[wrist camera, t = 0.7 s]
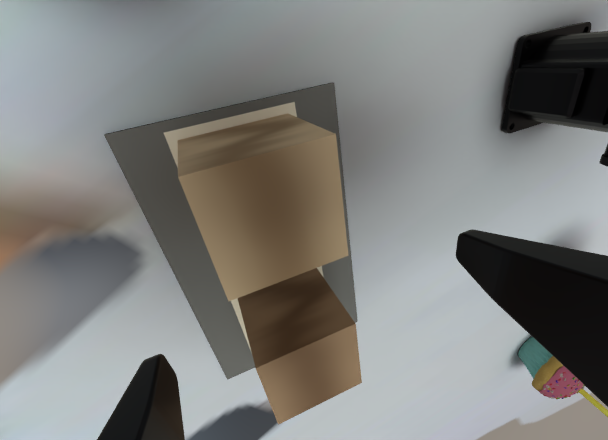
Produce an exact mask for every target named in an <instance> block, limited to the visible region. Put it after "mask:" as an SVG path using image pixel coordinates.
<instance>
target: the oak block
mask: <svg viewBox="0 0 608 440" xmlns="http://www.w3.org/2000/svg"><path fill="white" fill-rule="evenodd" d="M178 178H179V181H180V183H181V185H182V188H183V190H184V193H185V195H186V198H187V200H188V203H189V205H190V208H191V210H192V213H193V215H194V217H195V220H196V222H197V225H198V227H199V230H200V232H201V235H202V237H203V240H204V242H205V245H206V247H207V249H208V252H209V254H210V257H211V259H212V262H213V264H214V267H215V269H216V272H217V274H218V277H219V279H220V282H221V284H222V286H223V289H224V291H225V294H226V296H227V299H228V301H231V300H234V299H237V298H239V297H242V296H244V295H247V294H250V293H252V292H255V291H257V290H260V289H263V288H265V287H268V286H270V285H273V284H276V283H278V282H281V281H283V280H286V279H289V278H291V277H294V276H296V275H299V274H302V273H304V272H307V271H310V270H312V269H315V268H317V267H320V266H323V265H325V264H328V263H330V262H333V261H336V260H338V259H341V258H343V257H346V256H349V255H348V246H347V236H346V226H345V217H344V207H343V197H342V188H341V178H340V168H339V159H338V149H337V139H336V134H335V133H332V132H330V131H328V130H325V129H323V128H321V127H318V126H316V125H314V124H311V123H309V122H307V121H304V120H302V119H300V118H297V117H295V116H293V115H291V114H288V113H287V114H283V115H279V116H275V117H271V118H267V119H263V120H258V121H254V122H250V123H246V124H242V125H238V126H234V127H230V128H226V129H222V130H217V131H213V132H209V133H205V134H201V135H197V136H193V137H189V138H185V139H181V140H178Z"/></svg>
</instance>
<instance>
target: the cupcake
mask: <svg viewBox="0 0 608 440" xmlns="http://www.w3.org/2000/svg"><path fill="white" fill-rule="evenodd" d="M518 356H519V358H520V359H521V360H522V362H523V363H524V364H525V366H526V367H527V369H528V370H529V372H530V374H531V375H532V377H533V379H534V380H533V381H532V386H533V387H534V388H535V389H536V390H538V391H539V392H540V393H541V394H543V395H544V396H547V397H549V398H556V399H560V398H562V399H563V398H567V397H570V396H571V395H573V394H575V393H578V392H579V393H581V394H582V395H583V396H584V397H585V398H586V399H587V400H589V401H590V402H591V403H592V404H593V405H594V406H596V407H597V408H598V409H599V410H600V411H601V412H602V413H604V414H605V415H606V416H607V417H608V410H607V409H605V408H604V407H603V406H602V405H601V404H600V403H599V402H598V401H596V400H595V399H594V398H593V397H592V396H590V395H589V394H588V393H587V392H586V391H585V390H583V389H584V386H585V385H584V384H583V383H582V382H581V381H580V380H578V379H577V378H576V377H575V376H574V375H573V374H572V373H571V372H570V371H569V370H568V369H567V368H566V367H565V366H563V365H562V364H561V363H560V362H559V361H558V360H557V359H556V358H555V357H554V356H553V355H552V354H551V353H549V352H548V351H547V350H546V349H545V348H544V347H543V346H542V345H541V344H540V343H539V342H538V341H537V340H536V339H534V338H533V337H531V338H530V339H528V340H527V341H526V342H525V343H524V344H523V345H522V347H521V348H520V350H519V353H518Z"/></svg>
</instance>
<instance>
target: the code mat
mask: <svg viewBox="0 0 608 440" xmlns="http://www.w3.org/2000/svg"><path fill="white" fill-rule="evenodd" d="M287 113H288V114H291V115H293V116H295V117H297V118H300V119H302V120H304V121H307V122H309V123H311V124H314V125H316V126H318V127H321V128H323V129H325V130H328V131H330V132H332V133H335V134H336V139H337V149H338V159H339V168H340V178H341V188H342V197H343V207H344V217H345V226H346V236H347V246H348V255H349V256H346V257H343V258H341V259H338V260H336V261H333V262H330V263H328V264H325V265H323V266H320V267H317V269H318V270H319V272H320V273H321V275H322V276H323V277H324V279H325V280H326V282H327V283H328V285H329V286H330V288H331V289H332V290H333V292H334V293H335V295H336V296H337V298H338V299H339V301H340V302H341V303H342V305H343V306H344V308H345V309H346V311H347V312H348V313H349V315H350V316H351V318H352V319H353V321H354V322H357V312H356V302H355V292H354V281H353V271H352V261H351V251H350V240H349V230H348V220H347V210H346V200H345V189H344V179H343V169H342V159H341V149H340V138H339V128H338V118H337V108H336V98H335V87H334V83H329V84H324V85H320V86H316V87H311V88H307V89H302V90H298V91H294V92H289V93H285V94H280V95H276V96H271V97H267V98H263V99H258V100H254V101H249V102H245V103H241V104H236V105H232V106H227V107H223V108H218V109H214V110H210V111H205V112H201V113H196V114H192V115H188V116H183V117H179V118H174V119H170V120H166V121H161V122H157V123H152V124H148V125H143V126H139V127H135V128H130V129H126V130H121V131H117V132H113V133H108V134H105V135H104V136H105V138H106V140H107V141H108V143H109V145H110V147H111V149H112V151H113V153H114V155H115V157H116V159H117V161H118V163H119V165H120V167H121V169H122V171H123V173H124V175H125V177H126V179H127V181H128V183H129V185H130V187H131V189H132V191H133V193H134V195H135V197H136V199H137V201H138V203H139V205H140V207H141V209H142V211H143V213H144V215H145V217H146V219H147V221H148V223H149V225H150V227H151V229H152V231H153V233H154V235H155V237H156V239H157V241H158V243H159V245H160V247H161V249H162V251H163V253H164V255H165V256H166V258H167V260H168V262H169V264H170V266H171V268H172V270H173V272H174V274H175V276H176V278H177V280H178V282H179V284H180V286H181V288H182V290H183V292H184V294H185V296H186V298H187V300H188V302H189V304H190V306H191V308H192V310H193V312H194V314H195V316H196V318H197V320H198V322H199V324H200V326H201V328H202V330H203V332H204V334H205V336H206V338H207V340H208V342H209V344H210V346H211V348H212V350H213V352H214V354H215V356H216V358H217V360H218V362H219V364H220V366H221V368H222V370H223V372H224V373H225V375H226V377H227V379H230V378H232V377H234V376H236V375H239V374H241V373H243V372H245V371H248V370H250V369H252V368H254V367H255V364H254V360H253V356H252V352H251V348H250V344H249V341H248V337H247V333H246V329H245V325H244V321H243V318H242V314H241V310H240V306H239V302H238V299H234V300H231V301H228V299H227V296H226V294H225V291H224V289H223V286H222V284H221V282H220V279H219V277H218V274H217V272H216V269H215V267H214V264H213V262H212V259H211V257H210V254H209V252H208V249H207V247H206V245H205V242H204V240H203V237H202V235H201V232H200V230H199V227H198V225H197V222H196V220H195V217H194V215H193V213H192V210H191V208H190V205H189V203H188V200H187V198H186V195H185V193H184V190H183V188H182V185H181V183H180V181H179V178H178V140H181V139H185V138H189V137H193V136H197V135H201V134H205V133H209V132H213V131H217V130H222V129H226V128H230V127H234V126H238V125H242V124H246V123H250V122H254V121H258V120H263V119H267V118H271V117H275V116H279V115H283V114H287Z"/></svg>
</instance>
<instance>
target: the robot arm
mask: <svg viewBox="0 0 608 440" xmlns="http://www.w3.org/2000/svg"><path fill="white" fill-rule="evenodd" d="M590 30H591V23H590V22H584V23H578V24H574V25H569V26H565V27H560V28H556V29H551V30H547V31H542V32H538V33H533V34H529V35H524V36H522V37H521V38H520V39H519V41H518V44H517V48H516V54H515V59H514V65H513V70H512V76H511V81H510V87H509V92H508V98H507V103H506V109H505V114H504V120H503V125H502V131H503V132H505V133H513V132H516V131H519V130H522V129H525V128H528V127H531V126H534V125H537V124H541V123H551V124H557V125H564V126H570V127H577V128H583V129H590V130H596V131H603V132H608V31H604V32H591V33H590ZM600 163H601V164H603V165H605V166H608V144H607V147H606V150H605V153H604V154H602V156H601V159H600ZM456 258H457V260H458V261H459V263H460V264H461V265H462V266H463V267H464V268H465V269H466V270H467V272H468V273H469V274H470V275H471V276H472V277H473V278H474V279H475V281H476V282H477V283H478V284H479V285H480V286H481V287H482V288H483V289H484V291H485V292H486V293H487V294H488V295H489V296H490V297H491V298H492V299H493V300H494V301H495V302H496V303H497V304H498V305H499V306H500V307H501V308H502V309H503V310H504V311H505V312H507V313H508V314H509V315H510V316H511V317H512V318H513V319H514V320H515V321H516V322H517V323H518V324H519V325H521V326H522V327H523V328H524V329H525V330H526V331H527V332H528V333H529V334H530V335H531V336H532V337H533V338H534V339H536V340H537V341H538V342H539V343H540V344H541V345H542V346H543V347H544V348H545V349H546V350H547V351H548V352H549V353H551V354H552V355H553V356H554V357H555V358H556V359H557V360H558V361H559V362H560V363H561V364H562V365H563V366H565V367H566V368H567V369H568V370H569V371H570V372H571V373H572V374H573V375H574V376H575V377H576V378H577V379H578V380H580V381H581V382H582V383H583V384H584V385H585V386H586V387H587V388H588V389H589V390H590V391H591V392H592V393H593V394H595V395H596V396H597V397H598V398H599V399H600V400H601V401H602V402H603V403H604V404H605V405H606V406H608V256H605V255H600V254H595V253H590V252H585V251H579V250H574V249H569V248H564V247H559V246H554V245H549V244H544V243H539V242H534V241H528V240H523V239H518V238H513V237H508V236H503V235H498V234H493V233H488V232H483V231H477V230H468V231H466V232H463V233H461V234H460V235H459V236H458V241H457V249H456ZM97 440H185V439H184V430H183V422H182V413H181V405H180V397H179V388H178V381H177V377H176V374H175V372H174V370H173V369H172V367H171V366H170V364H169V363H168V361H167V359H166V358H165V357H164V355H162V354H158V355H155V356H153V357H150V358H148V359H146V360H144V361H143V362H142V364H141V365H140V367H139V369H138V370H137V372H136V374H135V376H134V377H133V379H132V381H131V382H130V384H129V386H128V388H127V389H126V391H125V393H124V394H123V396H122V398H121V400H120V401H119V403H118V405H117V406H116V408H115V410H114V412H113V413H112V415H111V417H110V418H109V420H108V422H107V424H106V425H105V427H104V429H103V430H102V432H101V434H100V436H99V437H98V439H97Z"/></svg>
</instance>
